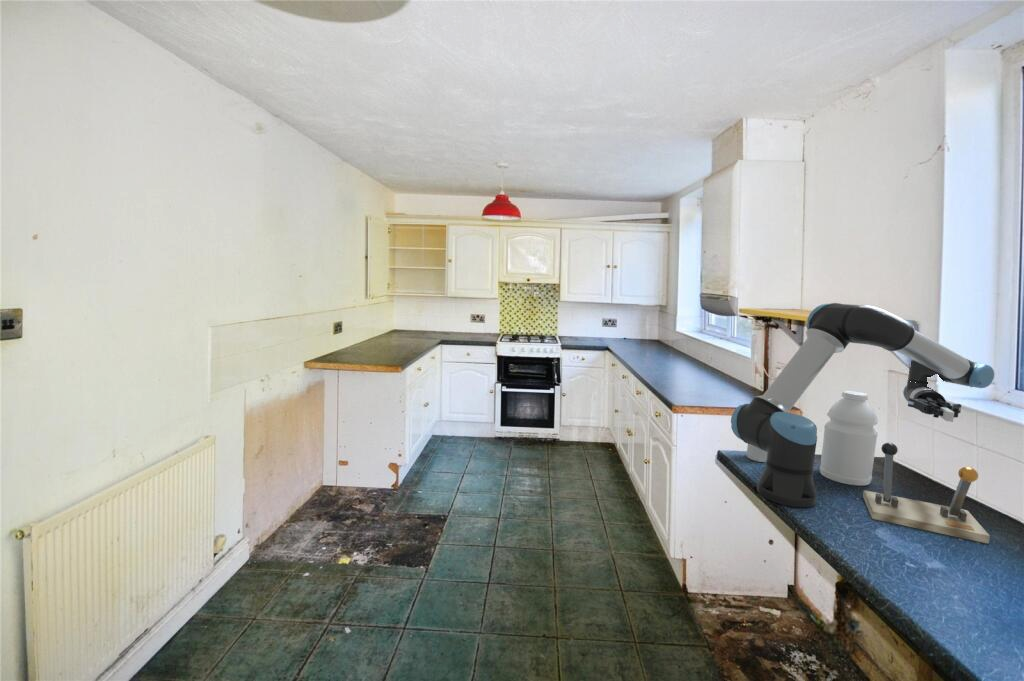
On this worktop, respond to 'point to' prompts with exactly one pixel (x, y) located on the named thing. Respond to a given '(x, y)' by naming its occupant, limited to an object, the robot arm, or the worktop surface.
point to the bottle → (849, 440)
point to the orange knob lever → (962, 489)
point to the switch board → (925, 516)
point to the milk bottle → (756, 453)
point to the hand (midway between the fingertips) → (950, 416)
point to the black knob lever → (888, 469)
